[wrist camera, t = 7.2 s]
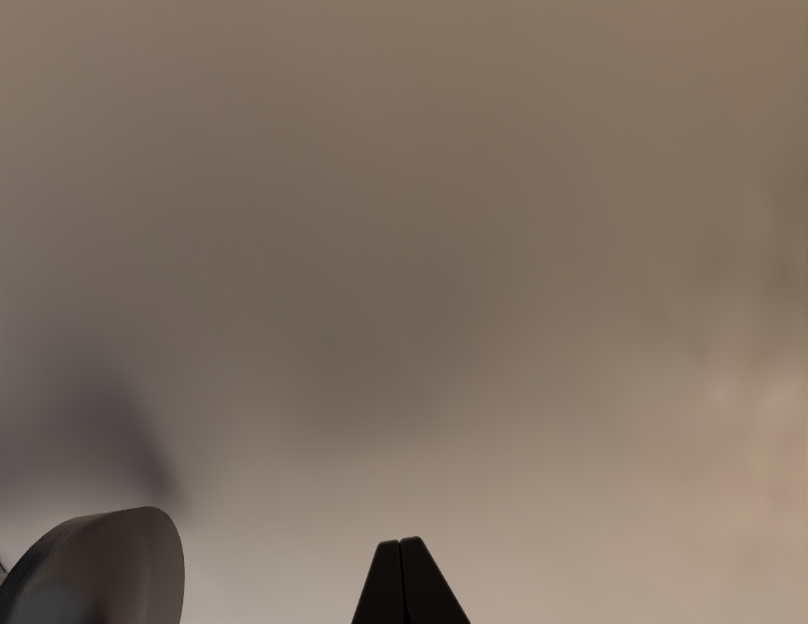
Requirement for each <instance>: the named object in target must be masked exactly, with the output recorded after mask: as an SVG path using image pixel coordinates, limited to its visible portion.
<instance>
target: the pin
mask: <svg viewBox="0 0 808 624" xmlns="http://www.w3.org/2000/svg"><path fill="white" fill-rule="evenodd" d="M184 582H185V569H184V555H183V549H182V544H181V540H180V536H179V534H178V531H177V528H176V527H175V525H174V523H173V521H172V520H171V518H170V517H169V516H168V515H167V514H166V513H165V512H164V511H162V510H160V509H158V508H155V507H140V508H133V509H127V510H120V511H113V512H107V513H100V514H94V515H87V516H81V517H76V518H73V519H71V520H68V521H65V522H63V523H62V524H60V525H58V526H56V527H54V528H53V529H52V530H50V531H49V532H47V533H46V534H45V535H43V536H42V537H41V538H40V539H39V540H38V541H37V542H36V543H34V544H33V545H32V546H31V547H30V548H29V549H28V551H27V552H26V553H25V554H24V555H23V556H22V557H21V558H20V559H19V561H18V562H17V563H16V565H15V566H14V567H13V568H12V570H11V571H10V572H9V573H5V574H0V624H179V623H180V618H181V612H182V606H183V597H184Z"/></svg>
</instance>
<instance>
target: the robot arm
mask: <svg viewBox="0 0 808 624" xmlns="http://www.w3.org/2000/svg"><path fill="white" fill-rule="evenodd" d="M351 624H471V623H470V621H469V619H468V617H467V616H466V614H465V612H464V611H463V609H462V607H461V605H460V604H459V602H458V600H457V599H456V597H455V595H454V593H453V592H452V590H451V588H450V587H449V585H448V583H447V581H446V580H445V578H444V576H443V575H442V573H441V571H440V569H439V568H438V566H437V564H436V563H435V561H434V559H433V557H432V556H431V554H430V552H429V551H428V549H427V547H426V545H425V544H424V542H423V540H422V539H421V538H420V537H418V536H415V537H408V538H403V539H402V540H401V541H400V543H399V541H398V540H390V541H384V542H380V543H379V544H378V546H377V549H376V552H375V555H374V558H373V560H372V563H371V566H370V569H369V572H368V575H367V578H366V581H365V584H364V587H363V590H362V593H361V596H360V599H359V602H358V605H357V608H356V611H355V614H354V617H353V620H352V623H351Z"/></svg>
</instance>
